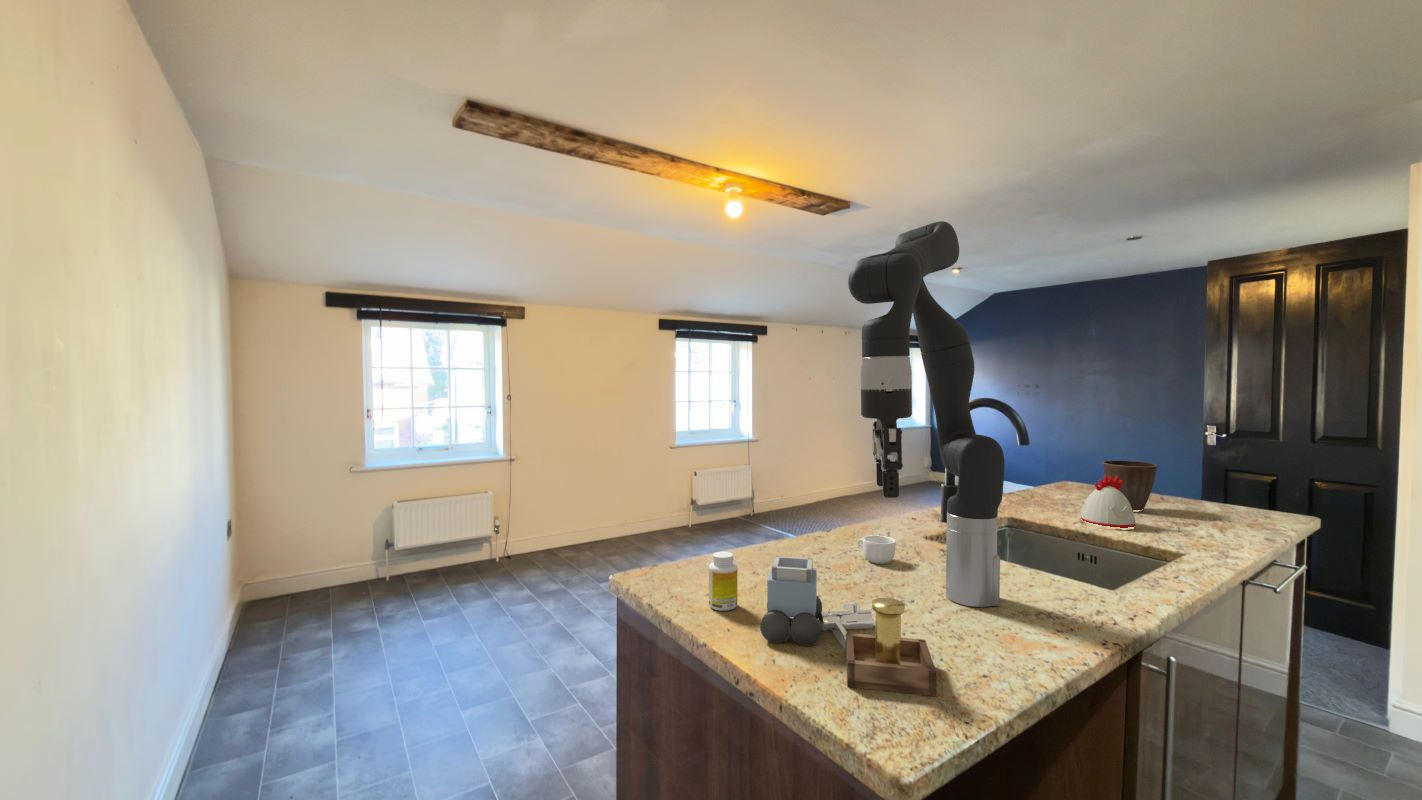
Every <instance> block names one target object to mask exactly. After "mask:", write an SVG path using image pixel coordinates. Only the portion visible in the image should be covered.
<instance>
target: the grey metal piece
mask: <svg viewBox="0 0 1422 800" xmlns="http://www.w3.org/2000/svg"><path fill="white" fill-rule="evenodd" d="M860 607H861V603H858V602H853V603H845V604H843V605H842V608H843V610H829V611H827V612H826V611H822V612H819V618H818V620H819V622H820V624H821V631H829V630H830V631H832V633H833V635H834V637H835V638H836V639H837V640H838V641H839V643H840V645H841V646H842V648H843V649H845V650H846V633H848V630H866V629H873V627H874V617H873V614H872V611H871V610H870V609H861V608H860Z"/></svg>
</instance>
